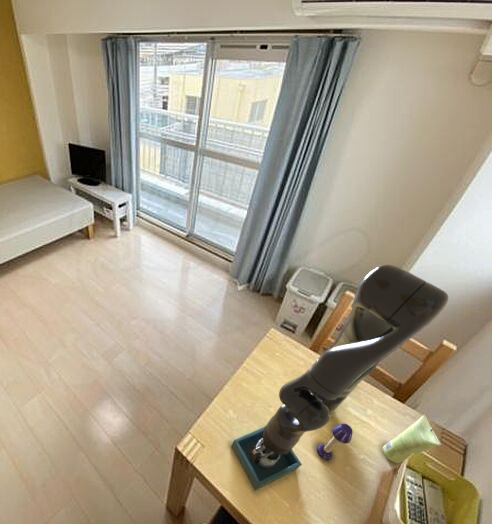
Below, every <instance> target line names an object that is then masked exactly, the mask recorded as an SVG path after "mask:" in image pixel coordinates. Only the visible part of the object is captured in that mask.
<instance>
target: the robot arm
mask: <svg viewBox="0 0 492 524" xmlns="http://www.w3.org/2000/svg"><path fill="white" fill-rule="evenodd" d="M448 302H449V295H448V293H447V292H446V291H445V290H443V289H441V288H440V287H437V286H436V285H434V284H432V283H430V282H428V281H426V280H425V279H423V278H420V277H419V276H417V275H415V274H414V273H411V272H409V271H408V270H405V269H403V268H401V267H399V266H396V265H393V264H388V263H387V264H386V263H385V264H381V265H379V266H376V267H374V268H373V269H371V270H370V271H369V272H368V273H367V274H366V275H365V276H364V277H363V279H362V280H361V282H359V285H358V286H357V289H356V290H355V294H354V297H353V301H352V305H351V310H350V312H349V314H348V315H347V317H346V319H345V321H344V322H343V324H342V327H341V330H340V332H339V334H338V336H337V338H336V339H335V341H334V342H333V343H332V345H330V347H329V348H328V349H327V350H325V351H324V352H323V353H322V354H321V355H320V356H319V357H318V358H317V359H316V361H315V362H313V364H312V365H311V366H310V367H309V368H308V369H307V370H306V371H305V372H304V373H303V374H301V375H300V376H297V377H296V378H294V379H291V380H290V381H288V382H286V383H285V384H283V385H282V386H281V387H280V389H279V390H278V391H279V392H278V398H279V400H280V402H281V404H282V405H280V406H279V407H278V409H277V410H276V412H275V413H274V415H272V417H271V418H270V419H269V421H268V422H267V424H266V425H265V426H266V427H265V426H264V427H265V428H264V430H263V440H262V442H261V443H260V444H258V445H257V448H256V446H252V447H251V449H250V451H249V455H250V457H251V458H252V460H253V462H256V464H257V463H259V462H260V461H261V459H263V458H267V457H269V456H270V455H271V454H274V453H276V454H280V455H284V454H287V453H288V452H290V450H291V449H292V450H293V448H294V447H295V446H296V445H297V444H298V442H300V439H301V437H303V435H304V434H305V433H307V432H313V431H317V430H319V429H321V428H323V427H325V426H326V425H327V424H329V423H328V422H329V421H330V419H331V415H332V414H333V413H334V412H335V411H336V410H337V408H338V407H339V406H340V405H341V404H342V403H343V402H344V401H345V400H346V399H347V397H348V396H349V395H351V393H352V392H353V391H354V390H355V389H356V388H357V386H358V385H359V384H360V383H362V381H364V379H366V378H367V377H368V376H369V375H370V374H371V373H373V372H374V370H375V369H376V368H377V367H378V365H379V364H380V362H382V361H383V360H384V359H386V358H387V357H388V356H390V355H391V354H393V353H394V352H395V351H397V350H398V349H400V347H402V346H403V345H405V344H406V343H407V342H408V341H410V340H411V339H412V338H413V337H415V336H417V334H419V333H420V332H421V331H423V330H424V329H425V328H426V327H428V325H430V324H431V323H432V322H433V321H434V320H435V319H436V318H437V317H438V316H439V315H440V314H441V313H442V312H443V310H444V309H445V307H446V306H447V304H448ZM266 452H267V454H266ZM260 453H261V455H260Z"/></svg>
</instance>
